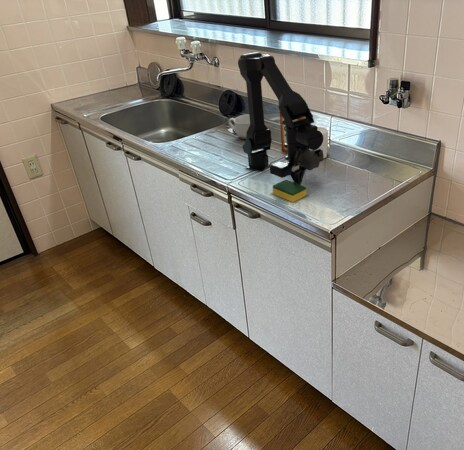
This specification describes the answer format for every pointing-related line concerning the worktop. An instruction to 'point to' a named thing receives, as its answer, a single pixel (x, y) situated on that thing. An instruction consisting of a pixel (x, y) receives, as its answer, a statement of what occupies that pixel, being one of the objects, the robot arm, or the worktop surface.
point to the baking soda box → (284, 132)
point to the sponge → (289, 190)
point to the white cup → (324, 140)
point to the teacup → (240, 125)
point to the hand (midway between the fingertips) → (298, 186)
